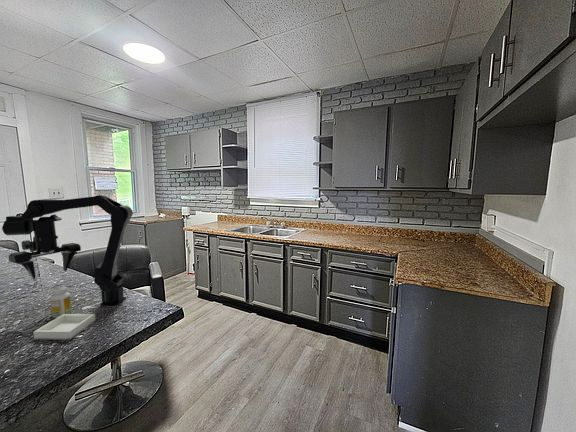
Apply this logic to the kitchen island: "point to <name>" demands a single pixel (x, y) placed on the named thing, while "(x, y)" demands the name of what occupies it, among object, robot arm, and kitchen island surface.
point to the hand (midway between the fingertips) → (50, 274)
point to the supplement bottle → (60, 302)
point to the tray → (65, 326)
